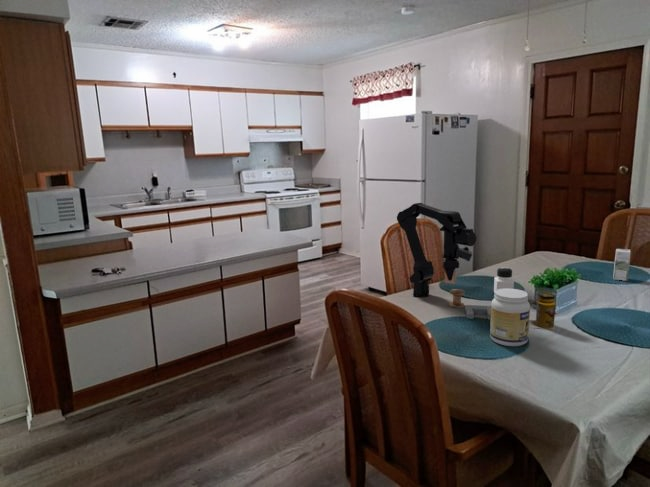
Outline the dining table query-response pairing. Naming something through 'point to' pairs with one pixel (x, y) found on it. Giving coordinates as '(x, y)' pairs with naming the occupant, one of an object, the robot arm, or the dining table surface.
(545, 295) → the condiment
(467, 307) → the notched board
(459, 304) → the door knob
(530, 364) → the dining table surface
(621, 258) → the syrup box
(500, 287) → the medicine bottle
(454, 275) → the copper brown block
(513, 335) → the supplement tub
